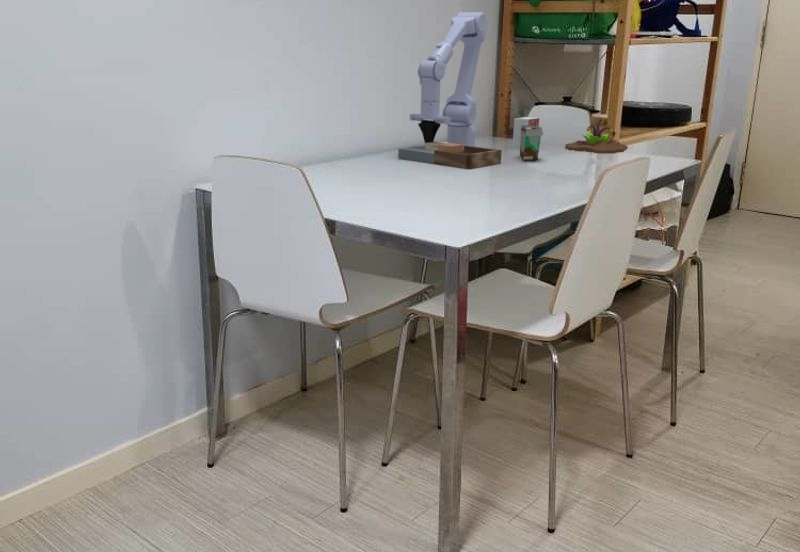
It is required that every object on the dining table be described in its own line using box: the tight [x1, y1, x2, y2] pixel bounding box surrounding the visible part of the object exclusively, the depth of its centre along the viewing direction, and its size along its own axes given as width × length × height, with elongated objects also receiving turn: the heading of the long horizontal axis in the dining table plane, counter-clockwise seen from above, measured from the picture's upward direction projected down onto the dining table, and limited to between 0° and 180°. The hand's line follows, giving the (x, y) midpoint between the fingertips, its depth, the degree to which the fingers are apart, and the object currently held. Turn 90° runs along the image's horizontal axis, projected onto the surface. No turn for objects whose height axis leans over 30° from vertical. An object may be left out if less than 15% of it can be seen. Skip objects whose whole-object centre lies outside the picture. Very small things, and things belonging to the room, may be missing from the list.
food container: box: [519, 125, 544, 163], centre depth 246 cm, size 12×6×10 cm, turn 179°
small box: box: [512, 116, 540, 149], centre depth 270 cm, size 8×6×10 cm
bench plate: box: [397, 144, 464, 165], centre depth 245 cm, size 16×14×3 cm
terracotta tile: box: [438, 143, 463, 152], centre depth 240 cm, size 6×5×2 cm
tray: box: [433, 146, 502, 170], centre depth 236 cm, size 16×13×4 cm
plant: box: [564, 118, 629, 155], centre depth 269 cm, size 20×20×11 cm
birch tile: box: [424, 140, 447, 151], centre depth 243 cm, size 6×5×2 cm
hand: (428, 145), depth 245 cm, fingers closed
